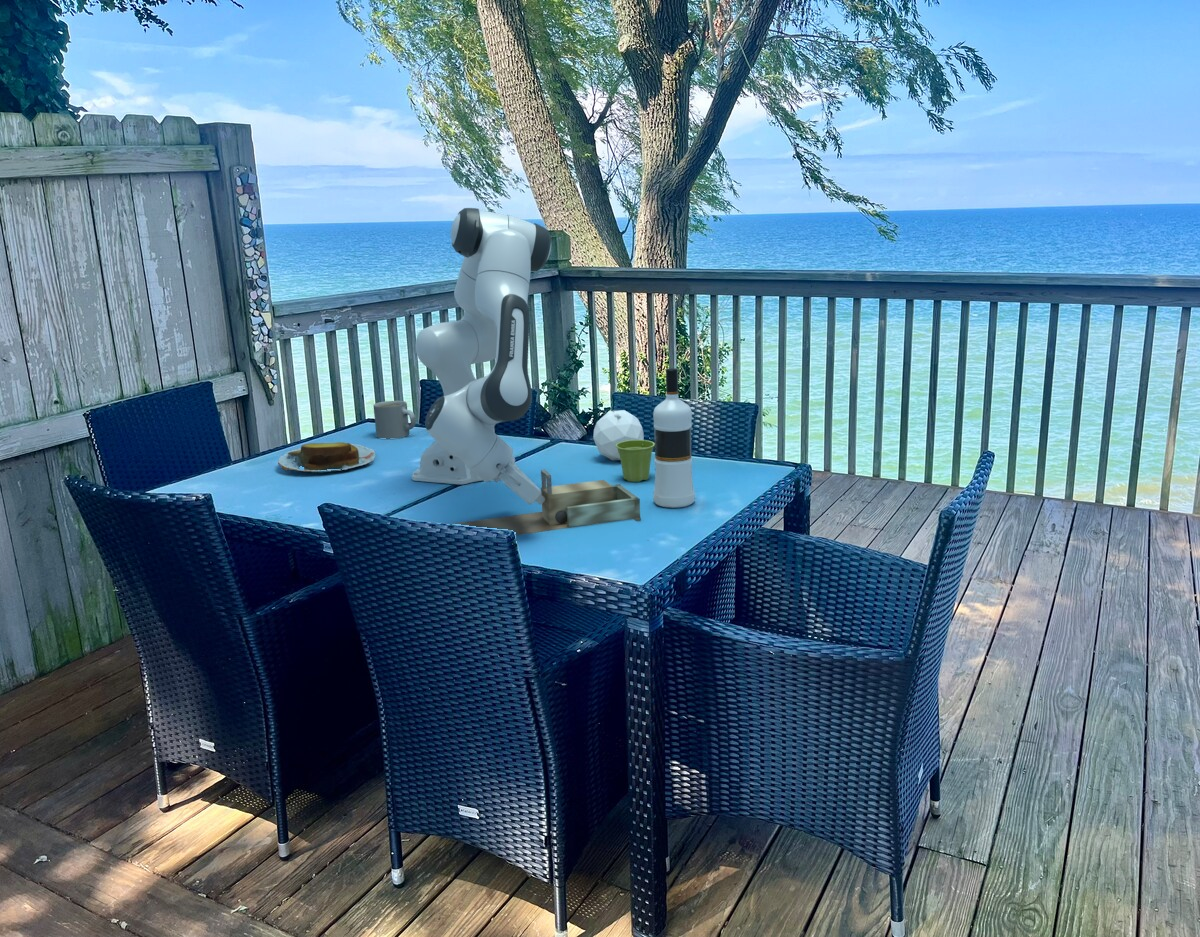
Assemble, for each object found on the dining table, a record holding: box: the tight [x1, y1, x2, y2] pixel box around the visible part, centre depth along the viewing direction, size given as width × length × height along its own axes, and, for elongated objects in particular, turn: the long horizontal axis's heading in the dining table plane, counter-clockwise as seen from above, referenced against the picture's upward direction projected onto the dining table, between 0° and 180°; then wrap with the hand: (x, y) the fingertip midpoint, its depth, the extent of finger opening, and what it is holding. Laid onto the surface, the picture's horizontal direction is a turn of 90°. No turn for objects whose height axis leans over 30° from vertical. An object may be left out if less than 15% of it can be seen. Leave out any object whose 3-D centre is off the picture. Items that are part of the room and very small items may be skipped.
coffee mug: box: [372, 400, 417, 440], centre depth 282 cm, size 13×10×10 cm
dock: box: [453, 483, 642, 536], centre depth 194 cm, size 38×13×5 cm, turn 109°
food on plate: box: [277, 442, 376, 473], centre depth 252 cm, size 26×26×7 cm
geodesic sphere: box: [592, 409, 645, 462], centre depth 243 cm, size 14×14×14 cm
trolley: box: [540, 469, 613, 525], centre depth 195 cm, size 14×8×10 cm, turn 108°
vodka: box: [652, 367, 696, 509], centre depth 202 cm, size 9×9×30 cm
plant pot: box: [616, 439, 655, 483], centre depth 225 cm, size 9×9×9 cm
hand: (541, 500), depth 193 cm, fingers closed, pressing on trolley
